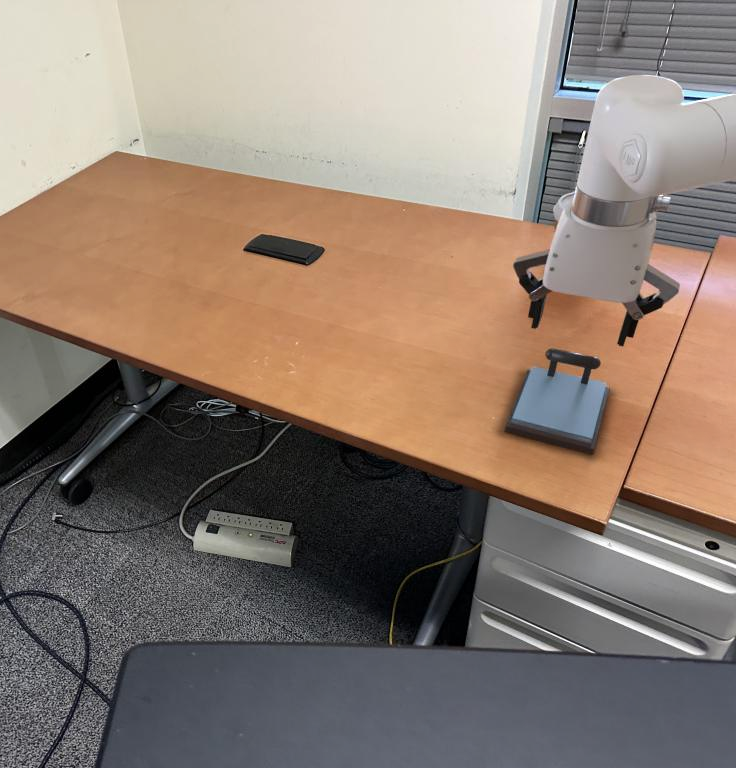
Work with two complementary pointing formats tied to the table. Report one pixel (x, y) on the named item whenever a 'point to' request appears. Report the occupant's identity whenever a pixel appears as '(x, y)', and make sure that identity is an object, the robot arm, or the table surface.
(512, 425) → the dark rectangular box base
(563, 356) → the handled blue panel
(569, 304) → the table surface
